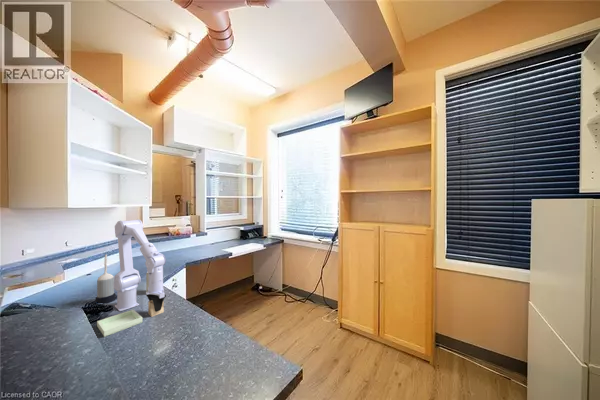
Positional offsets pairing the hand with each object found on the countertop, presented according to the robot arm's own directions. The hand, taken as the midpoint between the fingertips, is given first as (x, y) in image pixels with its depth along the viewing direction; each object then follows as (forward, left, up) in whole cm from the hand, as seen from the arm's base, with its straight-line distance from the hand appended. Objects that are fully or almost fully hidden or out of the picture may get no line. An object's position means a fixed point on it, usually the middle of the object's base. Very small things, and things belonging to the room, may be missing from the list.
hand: (156, 309), depth 102 cm
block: (0, 0, -2) cm, 2 cm away
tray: (-2, -13, -2) cm, 13 cm away
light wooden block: (-30, +9, -2) cm, 31 cm away
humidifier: (-38, -11, -2) cm, 40 cm away
